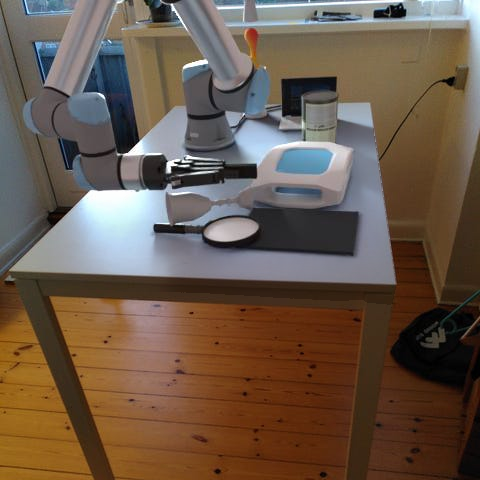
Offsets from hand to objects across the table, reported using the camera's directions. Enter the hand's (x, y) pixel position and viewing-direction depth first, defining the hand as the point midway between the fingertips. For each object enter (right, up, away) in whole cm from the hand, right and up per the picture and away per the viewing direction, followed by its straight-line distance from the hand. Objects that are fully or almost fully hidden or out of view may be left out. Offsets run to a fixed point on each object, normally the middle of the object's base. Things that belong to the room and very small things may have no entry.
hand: (256, 171), depth 105 cm
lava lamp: (+2, +42, +76) cm, 86 cm away
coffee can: (+20, +21, +46) cm, 54 cm away
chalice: (-1, -4, +8) cm, 9 cm away
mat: (+9, -11, +5) cm, 15 cm away
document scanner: (+13, +3, +24) cm, 27 cm away
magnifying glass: (-11, -12, +5) cm, 17 cm away
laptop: (+19, +33, +63) cm, 73 cm away
